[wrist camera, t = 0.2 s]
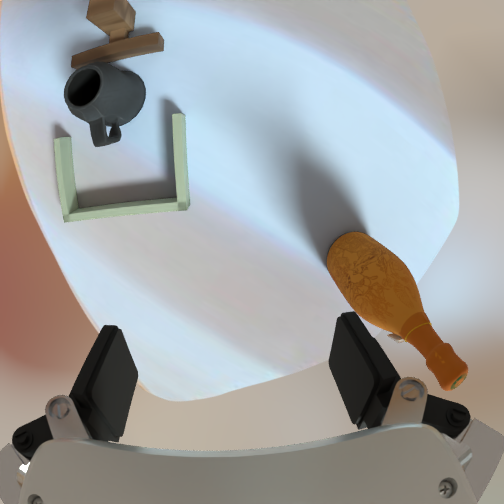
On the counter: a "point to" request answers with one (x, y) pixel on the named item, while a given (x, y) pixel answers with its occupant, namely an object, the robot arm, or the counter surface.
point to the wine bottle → (391, 301)
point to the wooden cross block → (116, 34)
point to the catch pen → (128, 208)
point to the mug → (104, 99)
